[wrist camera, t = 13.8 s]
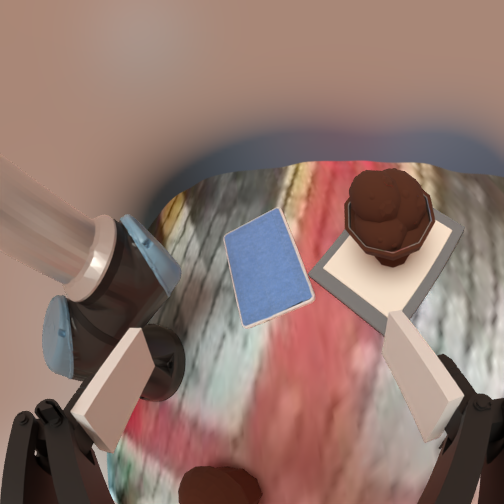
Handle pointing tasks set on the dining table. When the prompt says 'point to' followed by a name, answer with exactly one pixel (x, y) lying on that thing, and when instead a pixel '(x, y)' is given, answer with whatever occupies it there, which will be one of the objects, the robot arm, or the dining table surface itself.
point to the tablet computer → (266, 269)
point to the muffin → (218, 486)
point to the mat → (366, 309)
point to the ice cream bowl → (388, 215)
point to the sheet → (386, 271)
